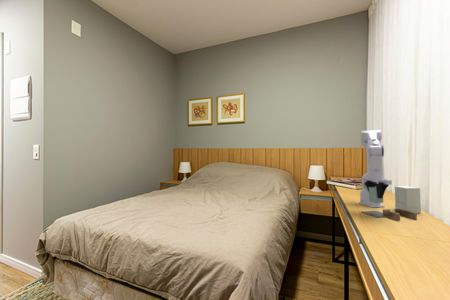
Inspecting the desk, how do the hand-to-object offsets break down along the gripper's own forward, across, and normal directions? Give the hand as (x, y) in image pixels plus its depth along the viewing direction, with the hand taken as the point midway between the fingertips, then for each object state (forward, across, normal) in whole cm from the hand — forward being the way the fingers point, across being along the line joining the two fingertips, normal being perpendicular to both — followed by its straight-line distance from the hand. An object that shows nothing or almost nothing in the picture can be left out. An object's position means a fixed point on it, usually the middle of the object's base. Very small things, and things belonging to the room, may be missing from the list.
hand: (376, 197), depth 101 cm
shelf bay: (+8, +6, +6) cm, 12 cm away
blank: (+2, 0, 0) cm, 2 cm away
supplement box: (+9, -2, +21) cm, 23 cm away
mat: (+8, 0, 0) cm, 8 cm away
